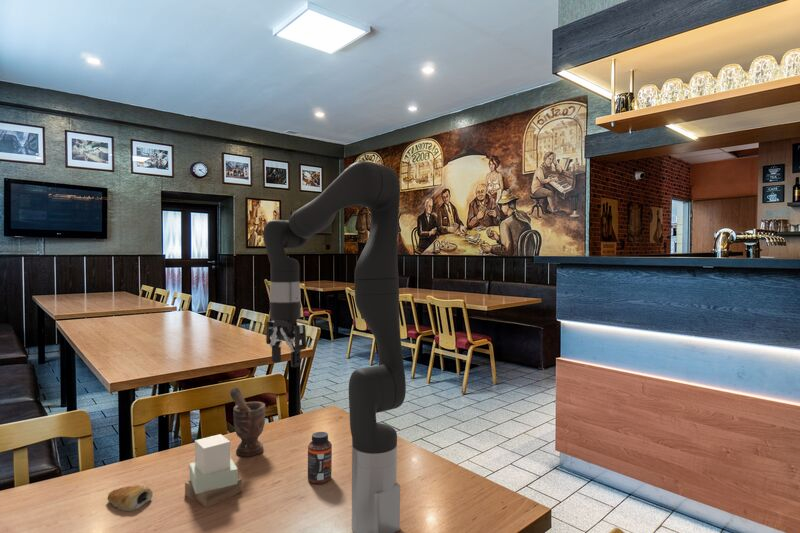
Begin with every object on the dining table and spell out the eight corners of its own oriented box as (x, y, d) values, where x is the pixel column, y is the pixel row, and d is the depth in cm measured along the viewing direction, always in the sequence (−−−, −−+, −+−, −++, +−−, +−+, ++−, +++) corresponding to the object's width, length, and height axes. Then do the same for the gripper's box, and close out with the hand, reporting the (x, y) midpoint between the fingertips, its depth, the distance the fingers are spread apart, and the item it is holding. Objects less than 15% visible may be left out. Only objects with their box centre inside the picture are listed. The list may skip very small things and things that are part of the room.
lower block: (241, 493, 111) (241, 478, 111) (206, 510, 103) (206, 494, 103) (219, 482, 116) (219, 468, 116) (185, 497, 109) (184, 482, 109)
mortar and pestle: (258, 462, 126) (258, 389, 125) (226, 463, 125) (226, 389, 125) (267, 445, 137) (268, 377, 137) (237, 446, 137) (237, 378, 136)
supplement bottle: (326, 486, 113) (326, 439, 113) (303, 483, 115) (303, 437, 114) (334, 474, 119) (335, 430, 119) (313, 472, 121) (313, 428, 120)
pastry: (98, 507, 104) (98, 490, 104) (124, 492, 110) (124, 476, 110) (132, 514, 101) (132, 496, 101) (156, 498, 107) (156, 482, 107)
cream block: (230, 466, 109) (230, 441, 109) (203, 474, 105) (203, 448, 105) (220, 458, 114) (220, 434, 113) (195, 465, 110) (194, 440, 109)
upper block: (237, 483, 108) (237, 468, 108) (195, 494, 103) (195, 478, 103) (228, 468, 116) (228, 454, 116) (189, 477, 111) (189, 463, 111)
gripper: (314, 300, 115) (314, 366, 115) (282, 297, 125) (282, 358, 125) (288, 302, 110) (288, 371, 110) (257, 299, 119) (257, 362, 120)
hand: (285, 364), depth 117 cm, fingers open, 8 cm apart
